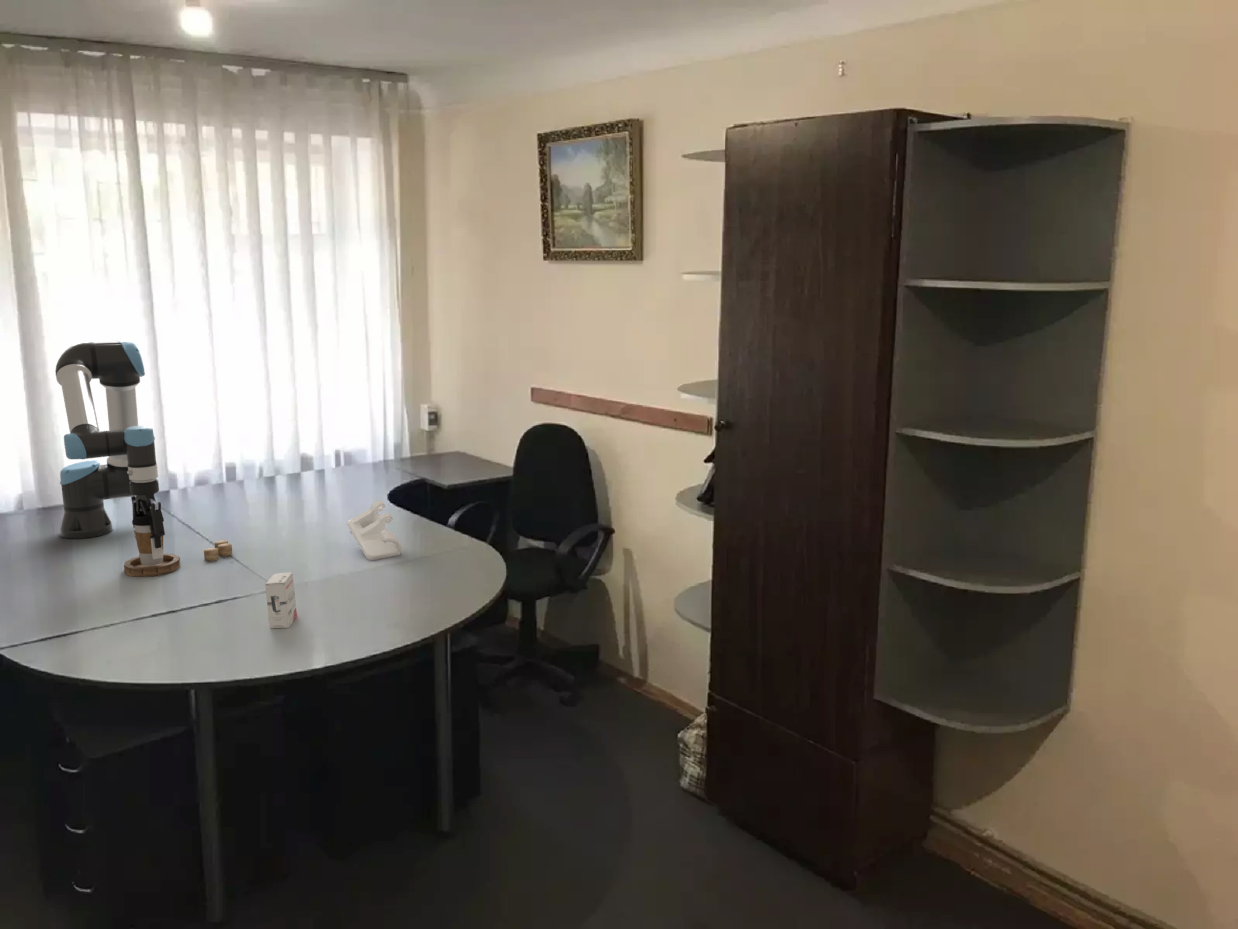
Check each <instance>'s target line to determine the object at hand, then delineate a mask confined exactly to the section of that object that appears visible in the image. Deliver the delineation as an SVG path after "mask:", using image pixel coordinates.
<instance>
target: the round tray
mask: <svg viewBox="0 0 1238 929" xmlns="http://www.w3.org/2000/svg"><path fill="white" fill-rule="evenodd" d="M180 558H181V557H180V556H179V555H177V554H174V553H164V552H163V562H162V563H160V564H156V565H142V564H141V560H140V555H139V556H135V557H132V558H130V559H127V560H125V562H124V564H123V571H124V574H125V575H126V576H128V577H134V578H148V577H156V576H162V575H166V574H171V573H173V572H175V571H177V570H179V569H180V568H181V565H182V564H181V561H180V560H181V559H180Z"/></svg>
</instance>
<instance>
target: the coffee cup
mask: <svg viewBox="0 0 1238 929" xmlns="http://www.w3.org/2000/svg"><path fill="white" fill-rule="evenodd" d="M150 512H151V511H150ZM161 513H162V519H163V522H164V521H165V519H164V517H163V516H164V515H163V512H162V511H161ZM149 519H150V520H152V516H145V515H144V516H140V517H139V514H138V513H137V514H134V515H133V514H132V520H131V523H132V524H131V525H132V526H133V525H134V527H133V529H134V530H133V531H134V537H135V542H136V545H137V550H138V554H139V556H140V560H141V564H142V565H156V564H160V563H162V562H163V558H158V559H153V557H152V547H151V539H150V536H152V534H151V531H150V522H149ZM161 541H162V551H163V552H164V535H163V536H161Z"/></svg>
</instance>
